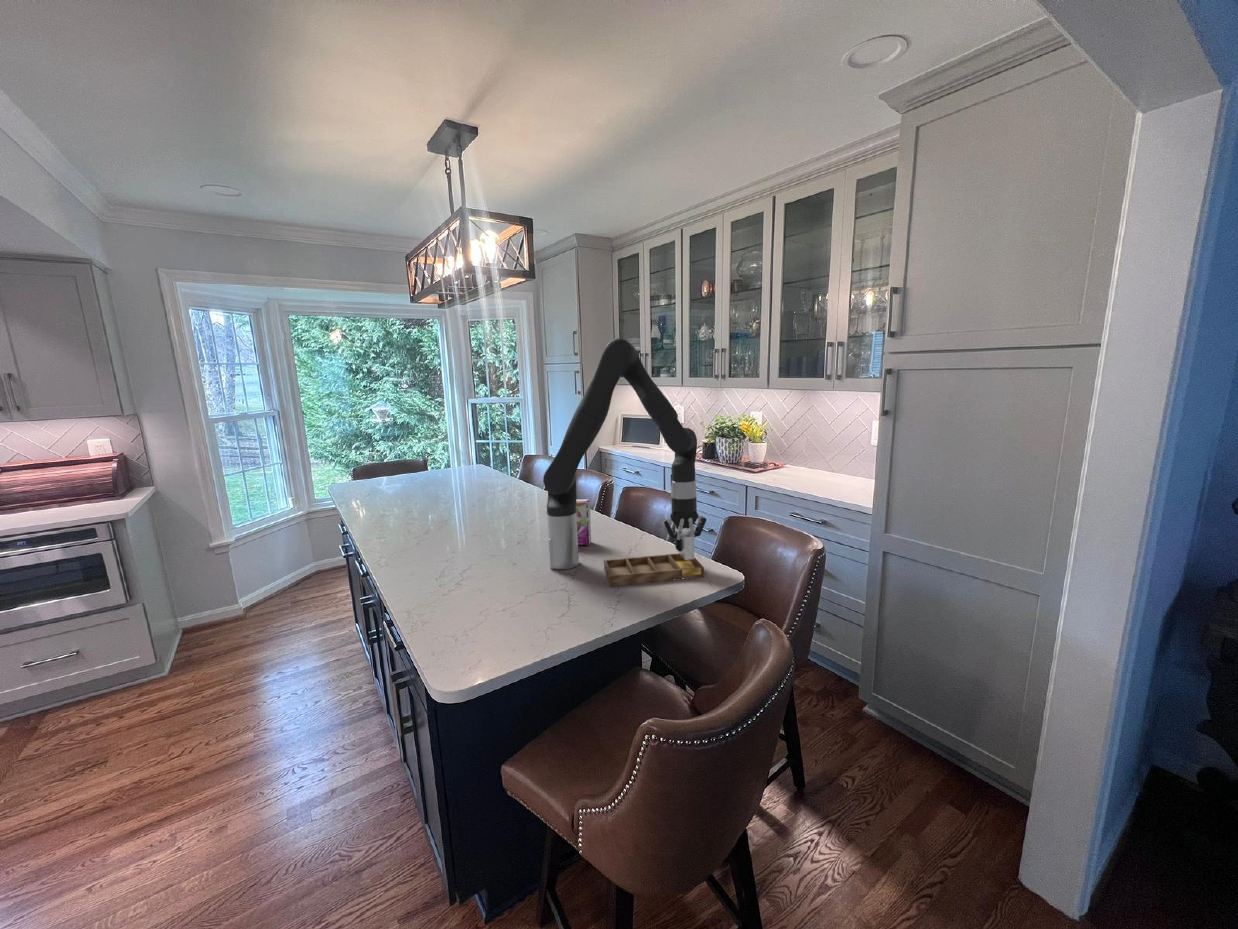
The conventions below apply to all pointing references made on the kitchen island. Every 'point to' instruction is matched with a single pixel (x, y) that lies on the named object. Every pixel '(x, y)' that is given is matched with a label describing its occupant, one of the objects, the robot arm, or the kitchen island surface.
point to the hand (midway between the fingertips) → (684, 550)
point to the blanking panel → (687, 545)
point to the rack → (651, 569)
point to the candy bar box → (583, 521)
